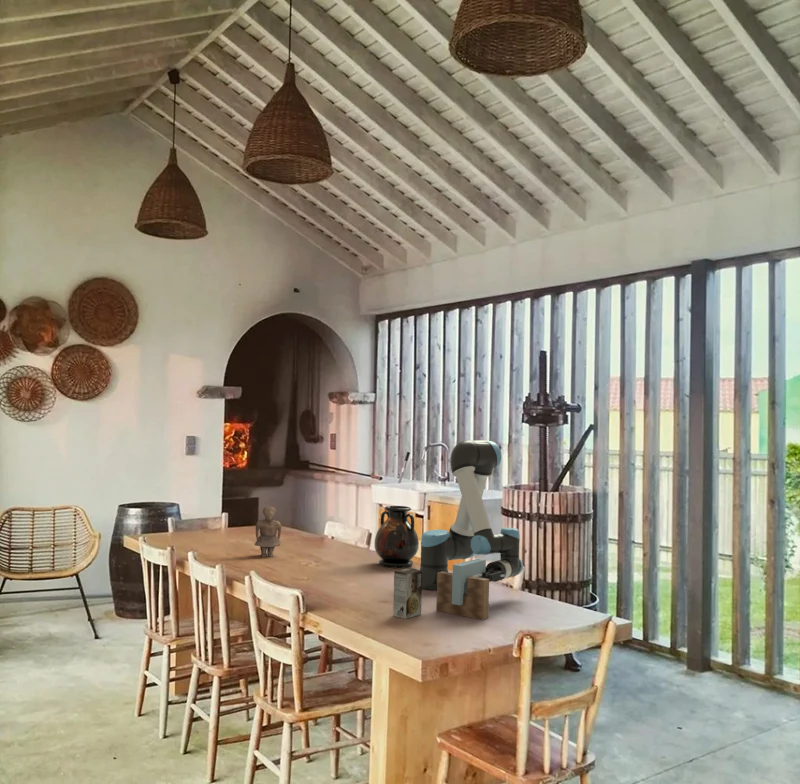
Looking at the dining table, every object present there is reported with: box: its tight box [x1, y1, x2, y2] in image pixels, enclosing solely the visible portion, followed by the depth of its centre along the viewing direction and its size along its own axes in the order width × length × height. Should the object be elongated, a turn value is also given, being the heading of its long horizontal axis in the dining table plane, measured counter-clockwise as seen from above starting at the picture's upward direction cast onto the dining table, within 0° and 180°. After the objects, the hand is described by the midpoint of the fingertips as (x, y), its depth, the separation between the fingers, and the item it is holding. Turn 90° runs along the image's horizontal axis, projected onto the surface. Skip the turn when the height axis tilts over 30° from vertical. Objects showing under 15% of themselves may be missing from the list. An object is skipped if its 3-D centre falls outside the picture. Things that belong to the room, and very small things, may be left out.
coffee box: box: [392, 567, 423, 620], centre depth 286 cm, size 9×6×16 cm
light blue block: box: [452, 558, 487, 605], centre depth 293 cm, size 4×18×14 cm, turn 144°
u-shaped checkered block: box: [436, 571, 490, 621], centre depth 290 cm, size 20×4×14 cm, turn 54°
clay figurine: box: [254, 505, 282, 558], centre depth 396 cm, size 13×10×25 cm
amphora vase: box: [374, 505, 420, 569], centre depth 383 cm, size 22×22×28 cm
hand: (467, 579), depth 292 cm, fingers closed on light blue block, 3 cm apart
